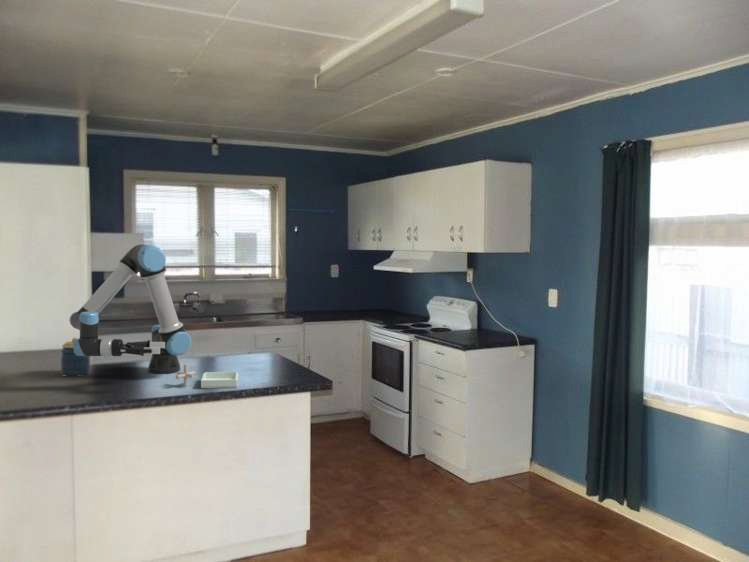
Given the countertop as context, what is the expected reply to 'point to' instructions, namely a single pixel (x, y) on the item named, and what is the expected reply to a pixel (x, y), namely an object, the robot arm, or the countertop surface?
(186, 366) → the pipe connector
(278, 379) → the countertop surface
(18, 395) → the countertop surface
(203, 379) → the tray
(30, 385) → the countertop surface
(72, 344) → the canister
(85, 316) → the robot arm
